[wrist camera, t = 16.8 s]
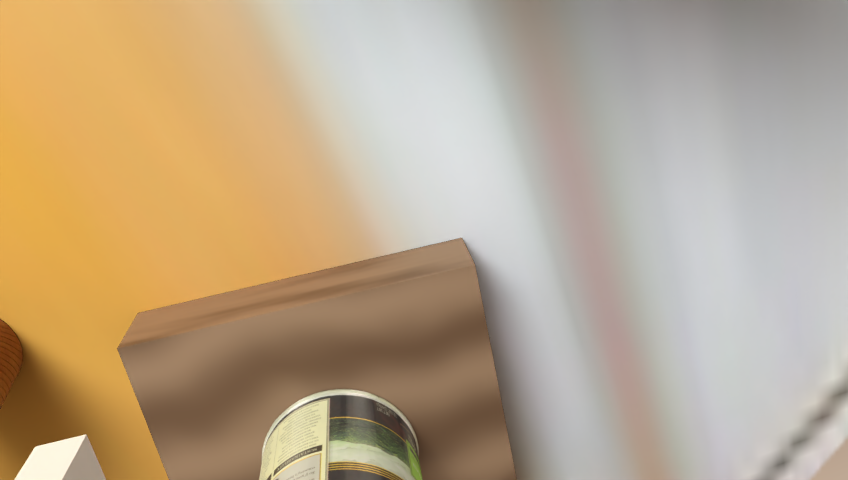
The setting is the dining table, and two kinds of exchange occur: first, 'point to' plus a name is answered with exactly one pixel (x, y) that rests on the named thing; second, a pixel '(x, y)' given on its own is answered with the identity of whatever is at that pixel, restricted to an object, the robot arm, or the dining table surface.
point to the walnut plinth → (325, 363)
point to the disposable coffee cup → (8, 359)
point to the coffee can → (341, 440)
